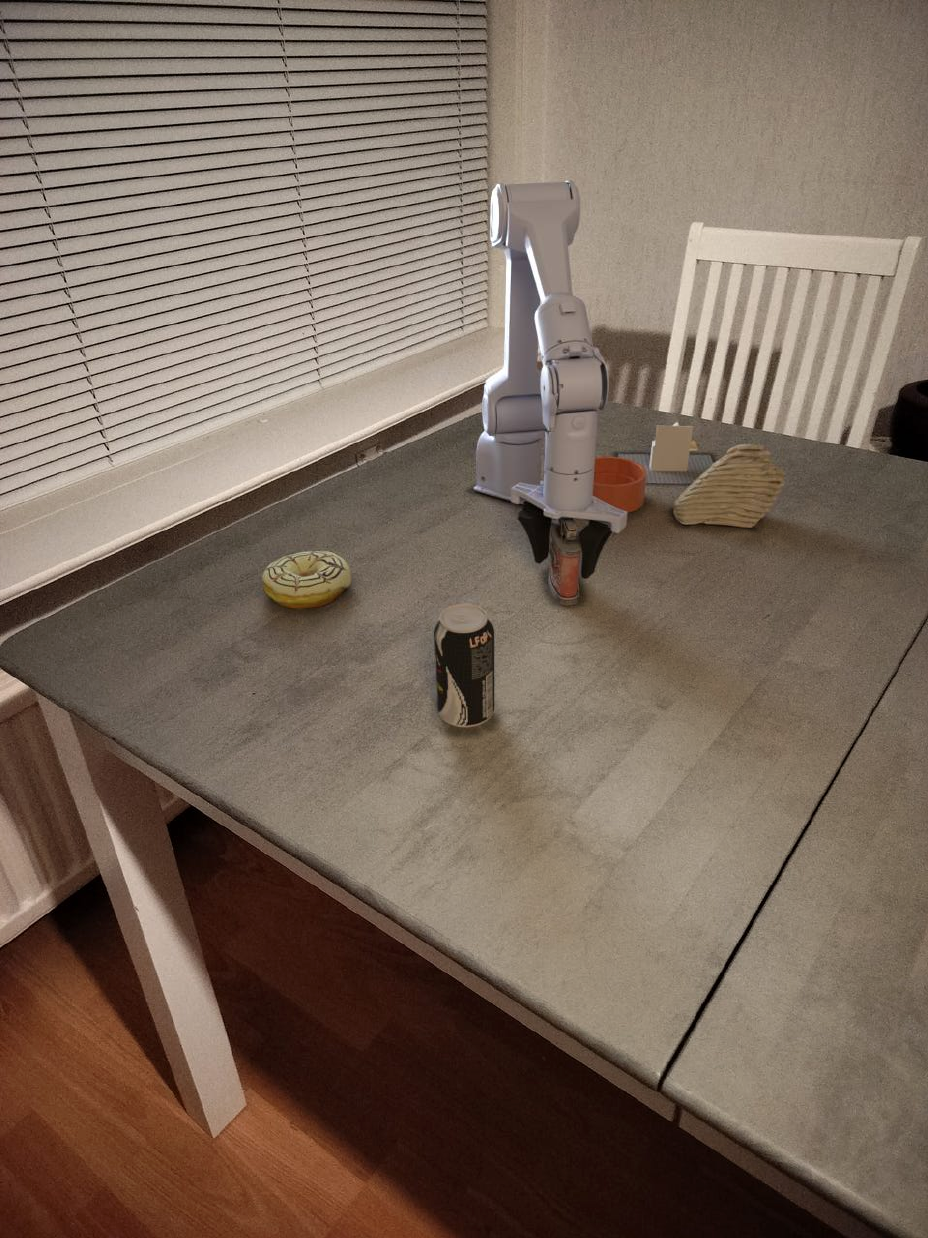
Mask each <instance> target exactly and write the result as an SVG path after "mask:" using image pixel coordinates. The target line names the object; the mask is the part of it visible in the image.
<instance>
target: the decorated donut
mask: <svg viewBox="0 0 928 1238" xmlns="http://www.w3.org/2000/svg"><path fill="white" fill-rule="evenodd" d="M261 580H262V588H263V591H264V592H265V594H267V596H268V597H269V598H270V599H271V600H273V602H275V603H277V604H278V605H279V606H281V607H285V608H288V609H293V610H297V611H301V610H304V609H305V610H308V609H313V608H320V607H323V606H325V605H328V604H330V603H332V602H333V601H334V600H335V599H337V598H338V597H339V596H340V595H341V594H342V593H343V592H344V591H345V590H346V589H348V588H349V587H350V586H351V583H352V573H351V568H350V566H349V564H348V563H347V561H346V560H345V559H344V558H342V557H341V556H340V555H337V554H336V553H334V552H331V551H325V550H313V551H311V550H310V551H298V552H295V553H292V554H287V555H284V556H282V557H280V558H278V559H276V560H275V561H273V562H271V563H269V564H268V565H267V566H266V567H265V569H264V571H263V572H262V576H261Z"/></svg>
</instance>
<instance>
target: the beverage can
mask: <svg viewBox="0 0 928 1238" xmlns="http://www.w3.org/2000/svg"><path fill="white" fill-rule="evenodd" d="M433 642H434V646H433V647H434V664H435V681H436V682H435V683H436V700H437V701H436V702H437V712H438V716H439V717H440V718H441V719H442V720H443V721H444V722H445V723H447V724H449V725H451V726H453V727H458V728H473V727H478V726H480V725H483V724H484V723H486V722H487V721H489V720H490V719H491V717H492V716H493V714H494V712H495V628H494V625H493V623H492V622H491V620H489V617H488V613H487V611H486V610H485V609H484V608H482V607H480V606H479V605H475V604H472V603H457V604H453V605H450V606H448V607H446V608H444V609H443V610H441V613H440V614H439V620H438V621H437V622H436V624H435V626H434V630H433Z"/></svg>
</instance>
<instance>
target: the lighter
mask: <svg viewBox="0 0 928 1238" xmlns="http://www.w3.org/2000/svg"><path fill="white" fill-rule="evenodd" d="M579 531H580V530H579V529H578V528H577V526H576V521H575V518H569V517H561V518H559V519H554V520H552V522H551V528H550V539H551V542H550V545H549V555H550V567H549V569H548V584H549V585H548V586H549V589H550V591H551V594H552V596H553V598H555V600H556V602H557V603H559V604H561V605H565V606H569V605H576V604H577V603H578V602H579V598H580V589H579V588H580V587H579V574H580V573H579V572H580V556H581V555H582V548H581V541H580V537H579Z"/></svg>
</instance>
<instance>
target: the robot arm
mask: <svg viewBox="0 0 928 1238" xmlns="http://www.w3.org/2000/svg"><path fill="white" fill-rule="evenodd" d="M580 196H581V195H580V191H579V188H578V186H577V185H576V184H575V181H573V180H571V179H567V180H565V181H550V182H548V181H547V182H528V183H506V184H505V183H501V182H500V183H499V182H498V183H497V184H496V185H495V187H494V188H493V190H492V192H491V197H490V198H491V199H490V233H489V235H490V241H491V247H492V248H495V249H499V250H502V251H503V252H504V257H505V260H506V261H505V262H506V269H505V271H506V272H505V304H504V305H505V309H504V310H505V311H504V349H503V351H504V352H503V356H504V357H503V361H504V362H503V367H502V368H501V369H499V370H498V371H497V372H496V373H494V374H492V375H491V376H489V377H488V378H487V379H486V380H485V384H484V385H483V387H484V388H483V396H482V399H481V401H482V402H481V403H482V404H481V414H482V415H481V416H482V425H483V429H484V430H483V432H482V433H481V434H480V436H479V438H478V440H477V444H476V449H475V467H476V468H475V469H476V472H475V473H476V485H475V486H473V490H474V492H478V493H481V494H485V495H489V496H492V497H495V498H499V499H502V500H506V501H509V502H511V503H512V504H515V505H522V507H521V510H519V511H518V512H517V520H518V522H519V523H520V524H521V527H523V530H524V532H525V533H526V535H527V538H528V541H529V544H530V547H531V550H532V554H533V558H534V562H535V564H541V563H542V562H544V561H545V560H547V559H548V558H549V555H550V543H551V541H550V539H551V522H552V521H553V519H554V520H559V518H561V517H569V518H574V519H578V520H581V521H585V522H588V525H585V526H584V527H583V528H582V529H580V530H578V531H579V537H580V541H581V548H582V552H581V566H580V575H581V579H584V580H587V579H589V578H590V577H591V576H592V575H594V573H595V570H596V567H597V564H598V561H599V558H600V556H601V553H602V552H603V549H604V547H605V545H606V543H607V542H608V540H609V538H610V537H611V535H612V534H613V533H616V534H619V533H620V532H622V531H623V530H624V529H625V528H626V527H627V521H628V513H627V511H623V510H620V509H618V508H615V507H613V506H611V505H609V504H608V503H606V502H604V501H602V500H600V499H598V498H596V497H594V496H593V482H594V468H595V457H596V455H597V454H596V453H597V439H598V427H599V426H598V425H599V411H603V410H604V409H605V408H606V406H607V403H608V399H609V390H610V388H609V386H610V383H609V382H610V381H609V372H608V366H607V362H606V360H605V357H604V356H603V355H602V354H601V352H600V348H599V347H596V346H595V347H594V343H593V339H592V338H593V337H592V333H591V327H590V322H589V318H588V313H587V307H586V304H585V302H584V300H582V299H581V298H579V297H578V296H576V295H574V293H573V292H574V291H573V283H572V273H571V261H570V252H569V246H571V245H572V244H573V243H574V239H575V234H577V232H578V229H579V225H580V219H581V199H580ZM539 353H540V357H541V358H540V359H541V362H542V368H541V370H539V369H538V358H539ZM598 410H599V411H598ZM543 439H544V441H545V442H544V467H543V480H542V479H541V478H542V477H541V475H542V448H543V447H542V445H543Z"/></svg>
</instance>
